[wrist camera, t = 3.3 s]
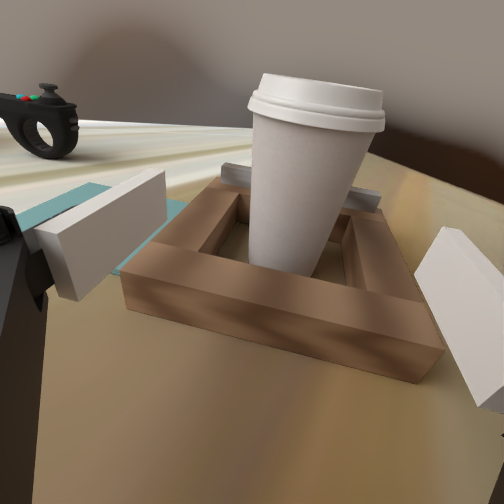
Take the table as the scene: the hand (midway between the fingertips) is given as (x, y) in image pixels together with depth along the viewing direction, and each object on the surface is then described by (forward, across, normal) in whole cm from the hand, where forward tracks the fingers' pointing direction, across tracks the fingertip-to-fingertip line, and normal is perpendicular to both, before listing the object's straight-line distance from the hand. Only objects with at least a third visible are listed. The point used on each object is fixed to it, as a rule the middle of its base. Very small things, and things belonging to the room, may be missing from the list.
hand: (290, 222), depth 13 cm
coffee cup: (+10, 0, -9) cm, 14 cm away
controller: (+24, -39, -10) cm, 47 cm away
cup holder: (+10, 0, -9) cm, 14 cm away
